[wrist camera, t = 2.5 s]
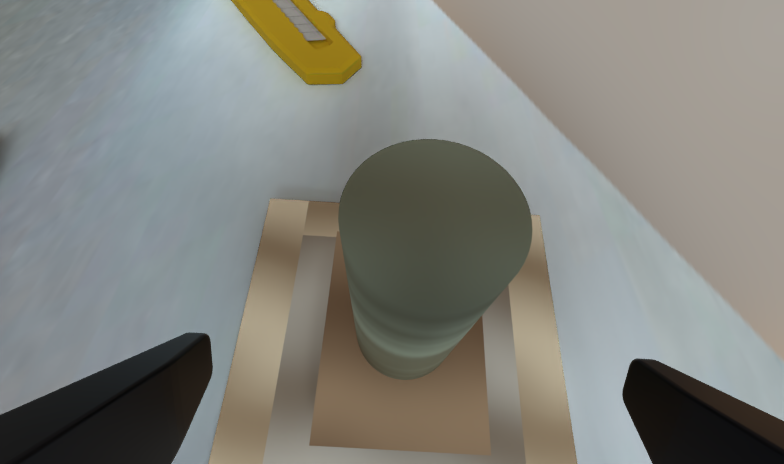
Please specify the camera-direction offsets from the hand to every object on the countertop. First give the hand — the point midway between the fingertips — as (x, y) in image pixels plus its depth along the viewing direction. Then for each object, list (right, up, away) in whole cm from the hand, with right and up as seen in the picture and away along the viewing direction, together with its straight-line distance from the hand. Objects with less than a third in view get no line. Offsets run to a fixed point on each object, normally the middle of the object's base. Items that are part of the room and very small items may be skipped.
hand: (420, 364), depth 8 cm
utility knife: (-10, +21, +22) cm, 32 cm away
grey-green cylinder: (0, -2, +9) cm, 9 cm away
